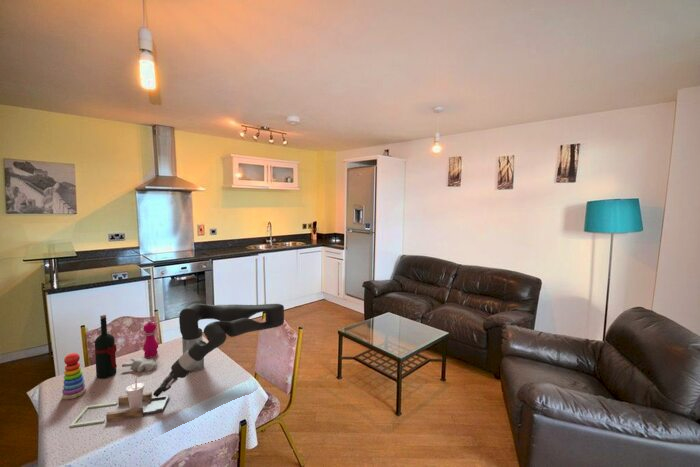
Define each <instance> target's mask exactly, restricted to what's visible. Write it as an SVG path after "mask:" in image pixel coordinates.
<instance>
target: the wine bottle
mask: <svg viewBox="0 0 700 467" xmlns="http://www.w3.org/2000/svg"><path fill="white" fill-rule="evenodd" d="M99 318H100V335H99V336H97V337H96V339H95V341H94V355H95V356H94V357H95V372H96V373H95V374H96V377H95V378H96V379H98V380H99V379H100V380H102V379H108V378H111V377H113V376H115V375H117V367H118V366H117V358H116V352H117V345H116V342H115V337H114V335H112V334H111V333H108V327H107V325H108V324H107V315H106V314H103V315H100V316H99Z"/></svg>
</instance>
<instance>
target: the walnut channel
mask: <svg viewBox="0 0 700 467" xmlns="http://www.w3.org/2000/svg"><path fill="white" fill-rule="evenodd" d="M151 397H153V392H152V391H151V392H143V398H142V403H144V402H150V401H151ZM117 400H118V402H117V404H118V406H121V405H122V406H123V405H129V400H128V396H127V394H126V395H121V396H119V397H118V398H117ZM143 411H144V407H142V408H135V409H130V408H129V409H128V408H127V409H122V410H115V411H108V412H107V413H106V414H105V416H106V418H105V421H106V423H108V422H115V421H122V420H123V421H125V420H130V419H136V418H142V417H143V416H144V415H143Z"/></svg>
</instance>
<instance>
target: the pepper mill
mask: <svg viewBox="0 0 700 467" xmlns="http://www.w3.org/2000/svg"><path fill="white" fill-rule="evenodd" d="M156 329H157V324H156V323H155V322H152V320H151V319H149V320H148V321H147V323H145V324H144V325H143V331H144V336H145V341H144V344H143V346H142V350H143V352H144V354H143V355H144V358H146V359H147V358H148V359H149V358H153V357H155V356H157V355H158V353H159V352H158V349H159V343H158V341H157V340H156V338H155V337H156V336H155V335H156Z"/></svg>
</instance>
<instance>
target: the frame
mask: <svg viewBox="0 0 700 467" xmlns="http://www.w3.org/2000/svg"><path fill="white" fill-rule="evenodd" d="M117 405H118V402H117V401H116V402H115V401H114V402H105V403H99V404H92V405H91V404H90V405H86V406H85V407H84V408H83V409H82V410H81V412H80V413H79V414H78V416H76V417H75V419H74V420H73V421H72V422H71V423H70V424H69V426H68V427H69V428H73V427H74V428H75V427H81V426H87V425H96V424H101V423H104V422H105V421H106V418H105V419H103V418H102V419H97V420H90V421H82V422H78V421H79V420H80V419H81V418H82V416H83V415H85V413H86V412H87V411H88V410H89V409H93V408H94V409H95V408H101V407H103V408H104V407H109V406H117Z"/></svg>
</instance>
